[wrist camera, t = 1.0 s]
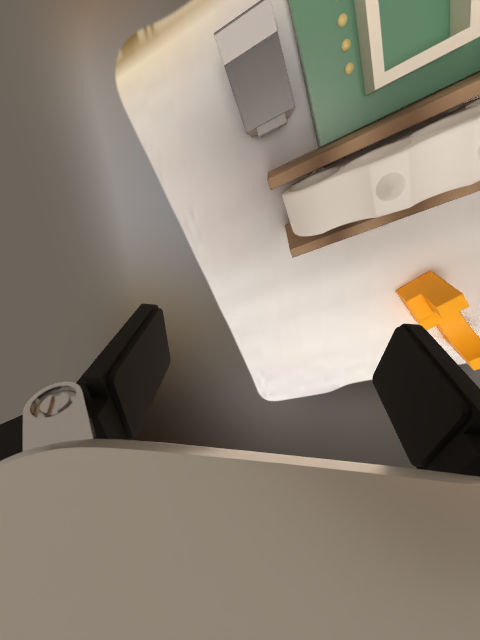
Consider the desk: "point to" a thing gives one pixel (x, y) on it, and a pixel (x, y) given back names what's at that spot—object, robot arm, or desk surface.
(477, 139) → the white curved piece
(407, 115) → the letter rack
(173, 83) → the desk surface
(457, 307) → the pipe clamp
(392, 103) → the board
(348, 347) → the desk surface
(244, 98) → the plug
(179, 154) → the desk surface
